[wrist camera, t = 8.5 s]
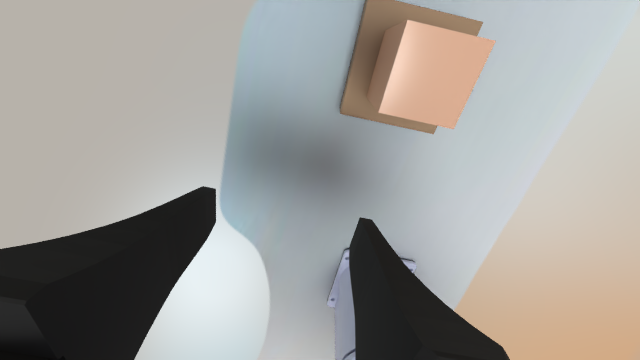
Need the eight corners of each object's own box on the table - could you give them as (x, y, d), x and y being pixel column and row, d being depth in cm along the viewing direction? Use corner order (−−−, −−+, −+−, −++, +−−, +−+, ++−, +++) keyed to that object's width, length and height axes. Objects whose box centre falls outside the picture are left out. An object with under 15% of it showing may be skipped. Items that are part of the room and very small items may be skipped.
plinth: (424, 126, 19) (433, 134, 17) (339, 108, 19) (340, 113, 17) (466, 25, 16) (483, 22, 14) (365, 1, 16) (369, -6, 14)
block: (421, 109, 17) (453, 129, 12) (366, 97, 16) (378, 112, 12) (447, 45, 15) (495, 40, 10) (385, 30, 15) (407, 19, 10)
